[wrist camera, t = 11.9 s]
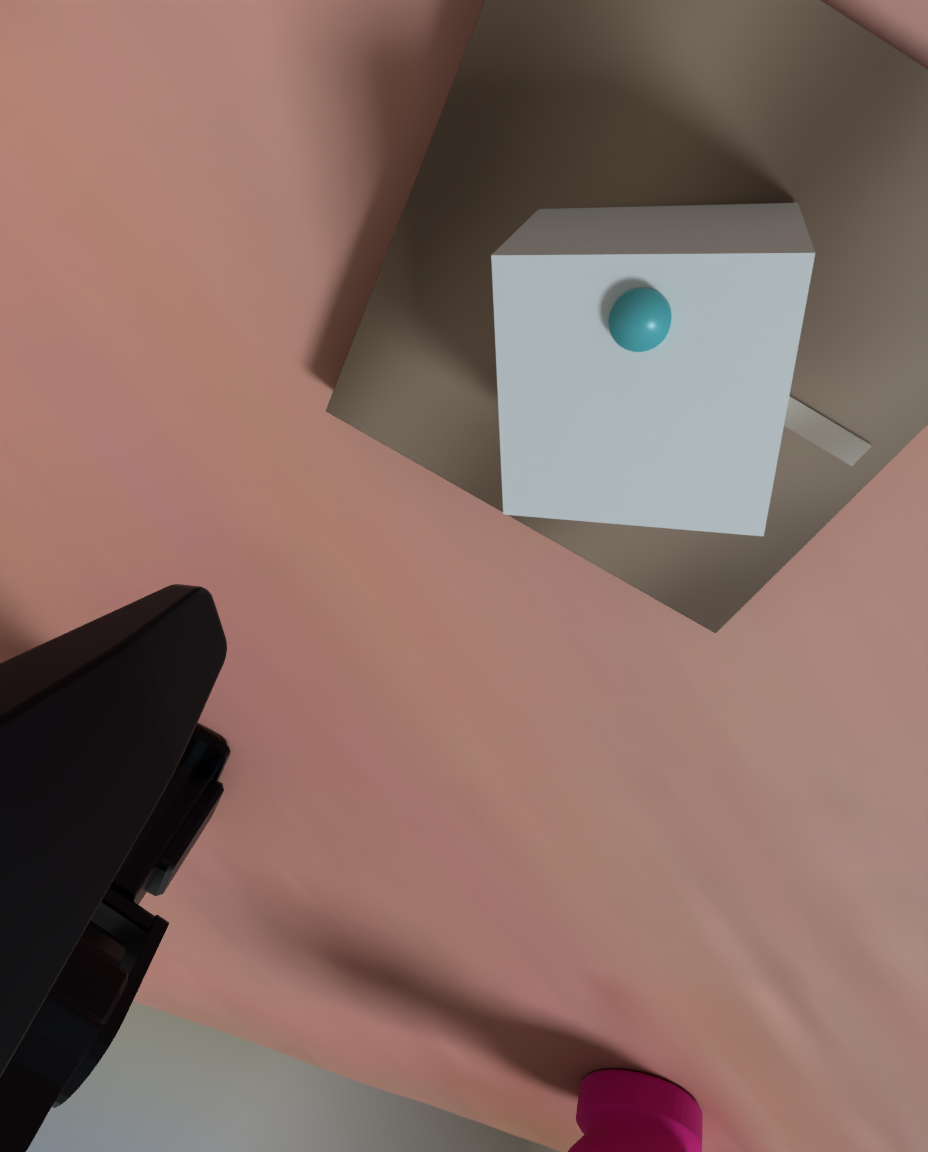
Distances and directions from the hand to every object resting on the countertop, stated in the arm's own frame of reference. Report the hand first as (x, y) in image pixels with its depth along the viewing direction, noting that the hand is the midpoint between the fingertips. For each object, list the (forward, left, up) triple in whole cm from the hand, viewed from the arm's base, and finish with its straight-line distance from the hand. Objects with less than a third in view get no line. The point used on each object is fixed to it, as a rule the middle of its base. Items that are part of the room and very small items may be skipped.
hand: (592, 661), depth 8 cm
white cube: (0, 0, -11) cm, 11 cm away
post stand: (0, 0, -12) cm, 12 cm away
